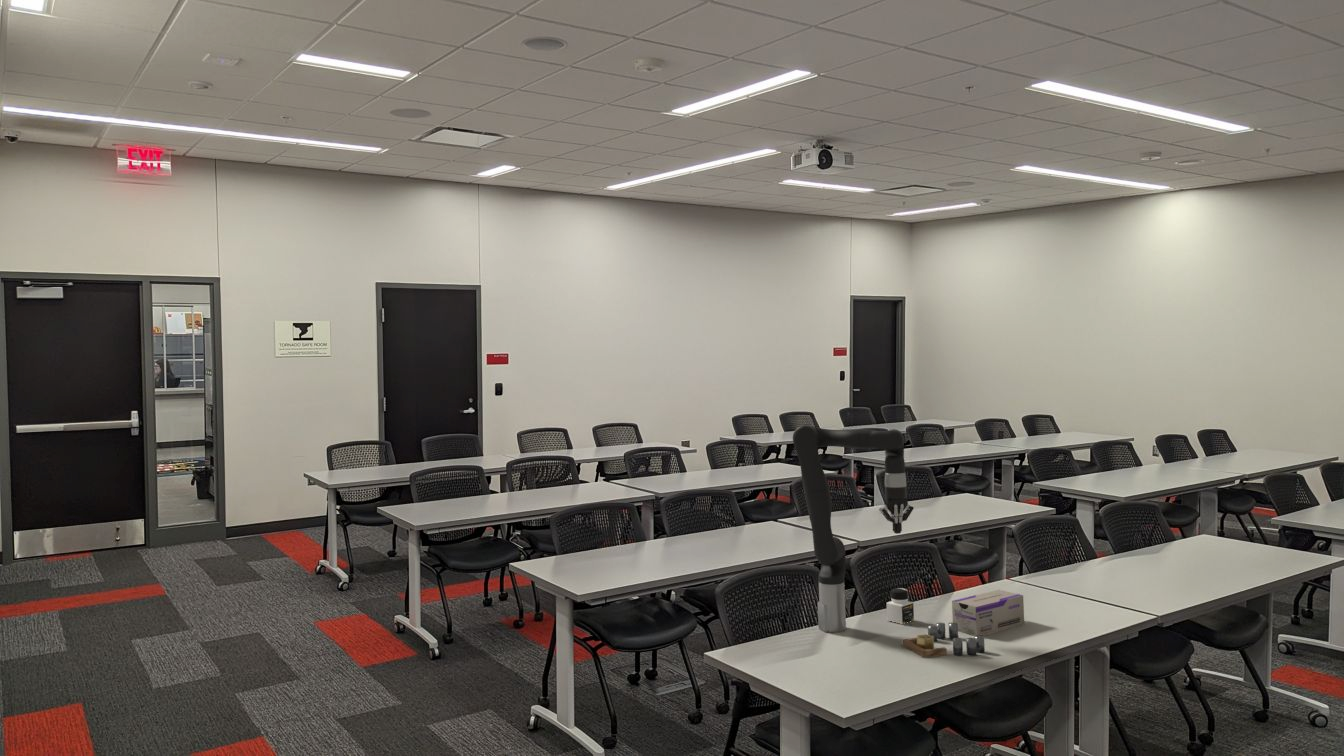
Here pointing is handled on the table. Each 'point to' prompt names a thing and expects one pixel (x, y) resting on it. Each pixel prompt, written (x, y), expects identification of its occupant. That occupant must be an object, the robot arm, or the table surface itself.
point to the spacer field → (957, 639)
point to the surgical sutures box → (988, 612)
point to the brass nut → (925, 641)
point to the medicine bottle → (900, 607)
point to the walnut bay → (920, 651)
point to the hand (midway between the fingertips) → (897, 533)
